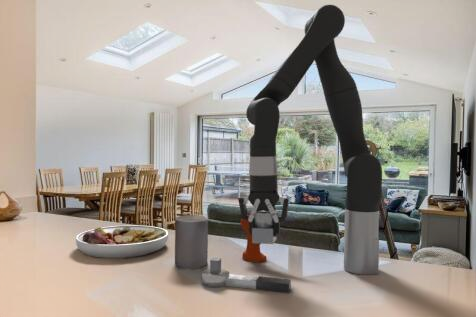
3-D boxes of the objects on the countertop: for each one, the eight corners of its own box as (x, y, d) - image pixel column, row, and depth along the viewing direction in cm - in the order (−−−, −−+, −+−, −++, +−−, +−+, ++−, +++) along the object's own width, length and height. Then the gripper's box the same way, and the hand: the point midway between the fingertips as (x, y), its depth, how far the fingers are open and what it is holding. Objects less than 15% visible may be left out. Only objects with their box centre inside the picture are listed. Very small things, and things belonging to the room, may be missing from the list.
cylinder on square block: (276, 239, 108) (276, 210, 108) (273, 244, 103) (272, 213, 102) (256, 238, 109) (256, 209, 109) (252, 243, 104) (251, 213, 104)
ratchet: (291, 285, 98) (292, 262, 98) (287, 295, 91) (287, 270, 91) (207, 276, 104) (207, 254, 104) (197, 285, 97) (197, 261, 97)
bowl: (120, 235, 153) (120, 215, 153) (185, 244, 140) (185, 222, 140) (55, 253, 126) (55, 229, 126) (127, 266, 113) (127, 239, 113)
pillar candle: (174, 259, 119) (174, 211, 119) (205, 258, 121) (206, 210, 121) (175, 270, 110) (175, 217, 109) (210, 268, 112) (210, 216, 111)
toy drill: (297, 264, 111) (291, 211, 112) (239, 262, 120) (234, 213, 121) (303, 260, 115) (297, 209, 116) (247, 258, 125) (242, 211, 125)
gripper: (291, 172, 107) (292, 233, 108) (240, 172, 111) (242, 231, 111) (288, 174, 100) (289, 239, 100) (234, 174, 104) (235, 237, 104)
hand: (264, 235), depth 106 cm, fingers closed on cylinder on square block, 5 cm apart
